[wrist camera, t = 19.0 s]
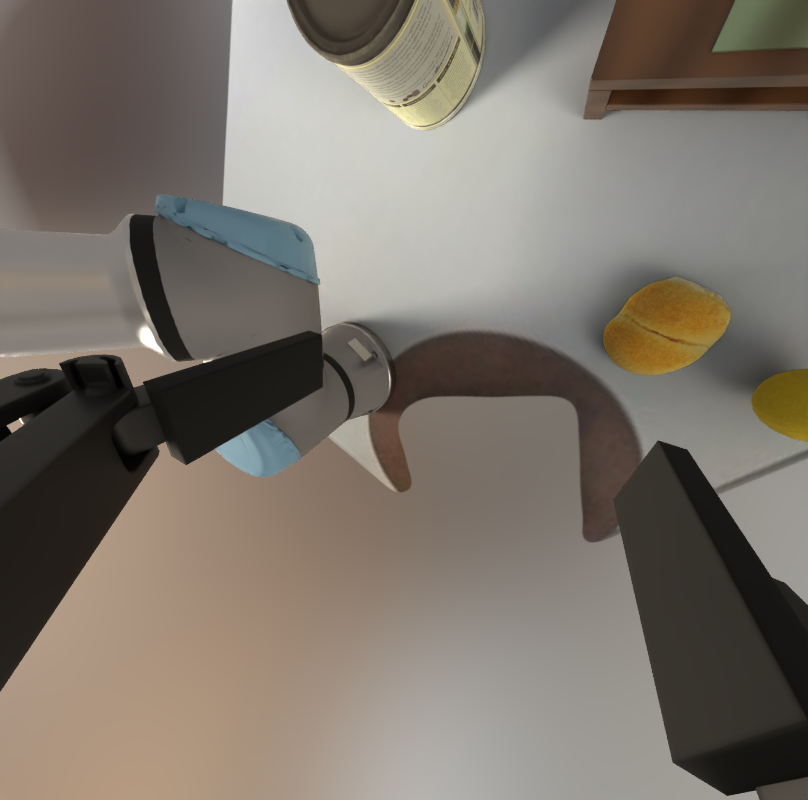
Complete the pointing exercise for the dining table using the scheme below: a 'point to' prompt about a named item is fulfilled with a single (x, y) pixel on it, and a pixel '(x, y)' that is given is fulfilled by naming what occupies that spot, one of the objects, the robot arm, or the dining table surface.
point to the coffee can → (401, 50)
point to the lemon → (784, 403)
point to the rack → (702, 57)
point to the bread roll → (665, 327)
